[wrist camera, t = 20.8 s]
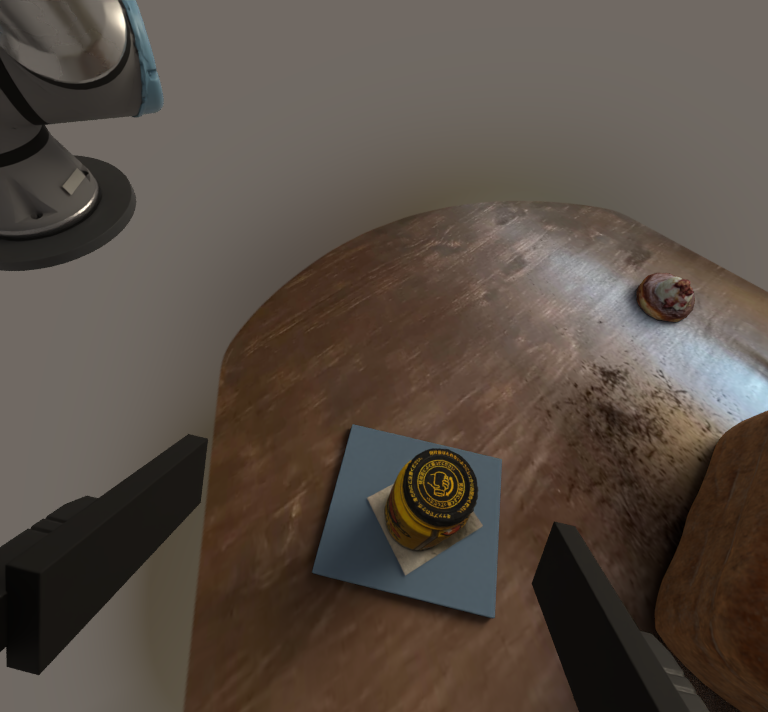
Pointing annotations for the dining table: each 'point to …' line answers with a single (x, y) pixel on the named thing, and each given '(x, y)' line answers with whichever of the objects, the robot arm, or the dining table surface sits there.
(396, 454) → the sauce mat
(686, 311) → the pastry
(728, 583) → the bread
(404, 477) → the condiment
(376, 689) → the dining table surface
